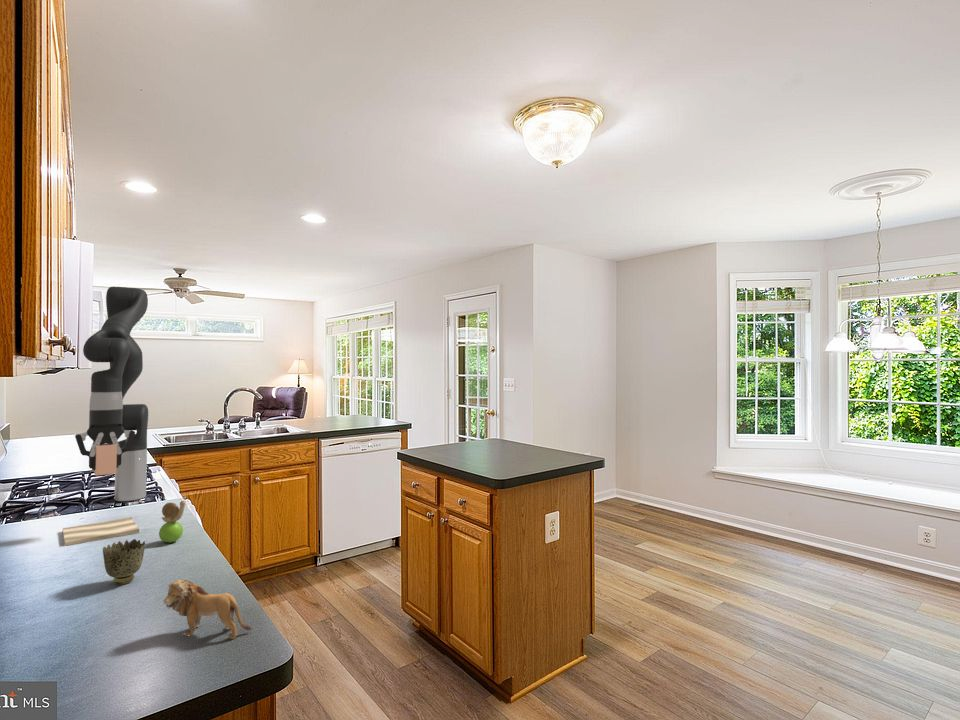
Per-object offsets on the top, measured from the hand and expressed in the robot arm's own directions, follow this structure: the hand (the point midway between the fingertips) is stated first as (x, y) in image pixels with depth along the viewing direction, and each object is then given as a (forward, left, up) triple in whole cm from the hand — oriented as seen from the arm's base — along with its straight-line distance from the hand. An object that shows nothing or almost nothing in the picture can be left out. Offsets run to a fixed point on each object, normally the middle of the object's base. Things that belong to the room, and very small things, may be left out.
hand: (105, 468), depth 141 cm
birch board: (0, -1, -18) cm, 18 cm away
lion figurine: (+79, +8, -18) cm, 82 cm away
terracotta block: (0, 0, -1) cm, 1 cm away
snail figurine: (+23, +13, -18) cm, 32 cm away
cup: (+45, 0, -18) cm, 48 cm away
